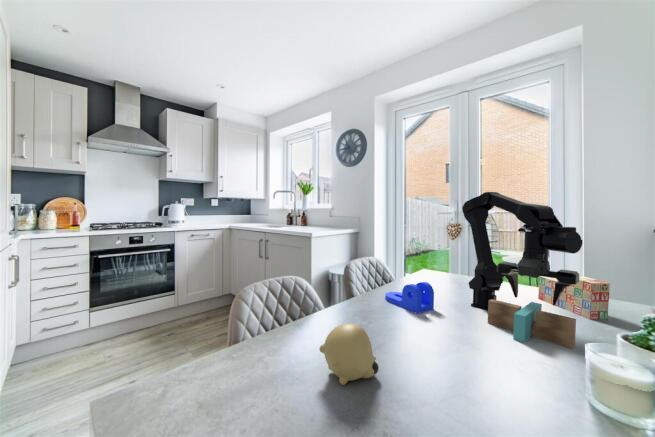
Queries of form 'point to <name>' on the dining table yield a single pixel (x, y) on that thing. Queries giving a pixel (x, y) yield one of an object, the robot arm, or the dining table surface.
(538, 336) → the walnut slotted board
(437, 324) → the dining table surface
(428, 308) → the bracket
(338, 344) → the toy pig
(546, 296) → the stack of blocks
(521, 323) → the teal slotted plate
